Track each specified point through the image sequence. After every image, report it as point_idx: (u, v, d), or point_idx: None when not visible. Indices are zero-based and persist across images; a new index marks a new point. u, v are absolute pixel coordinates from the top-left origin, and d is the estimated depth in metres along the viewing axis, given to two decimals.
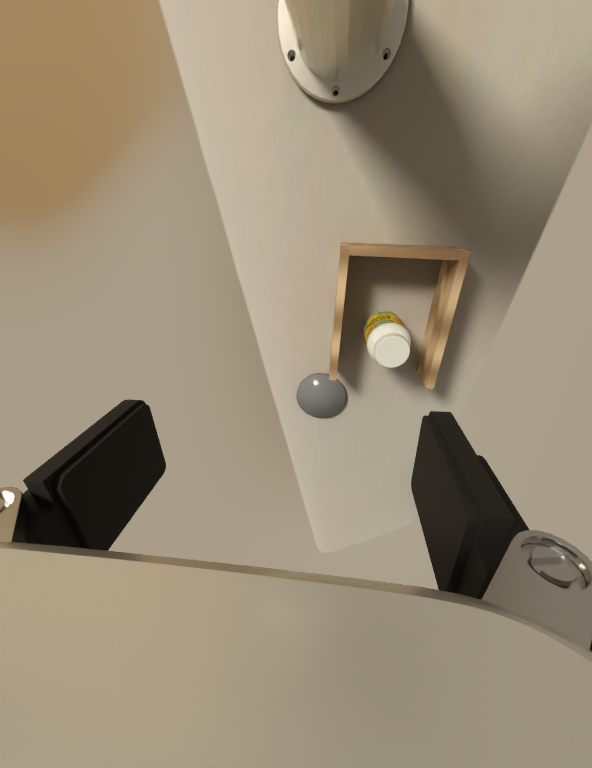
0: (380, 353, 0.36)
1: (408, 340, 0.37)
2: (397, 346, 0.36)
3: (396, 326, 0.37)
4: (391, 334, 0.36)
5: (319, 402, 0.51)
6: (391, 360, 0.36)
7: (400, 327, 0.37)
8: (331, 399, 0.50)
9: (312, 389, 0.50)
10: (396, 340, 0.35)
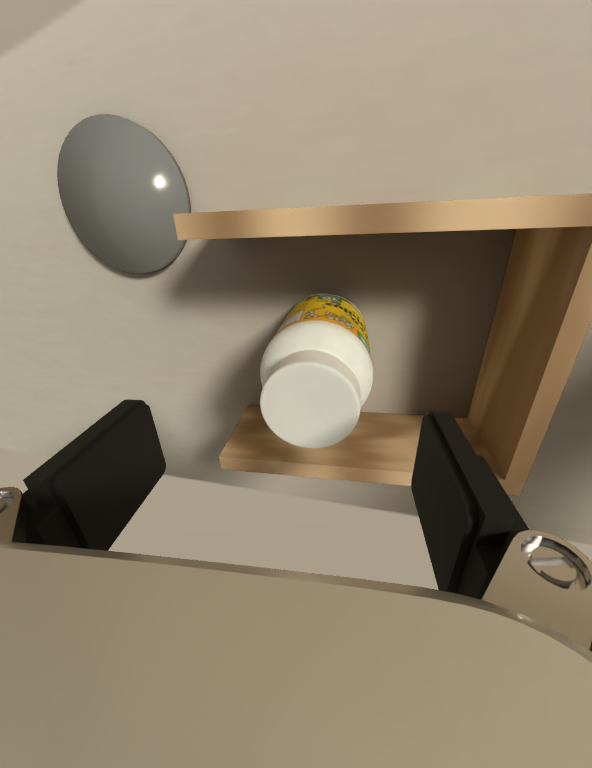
0: (301, 378, 0.11)
1: None
2: (328, 419, 0.12)
3: (368, 391, 0.14)
4: (360, 395, 0.12)
5: (105, 199, 0.18)
6: (283, 409, 0.12)
7: (364, 400, 0.14)
8: (126, 234, 0.19)
9: (134, 170, 0.17)
10: (345, 415, 0.12)
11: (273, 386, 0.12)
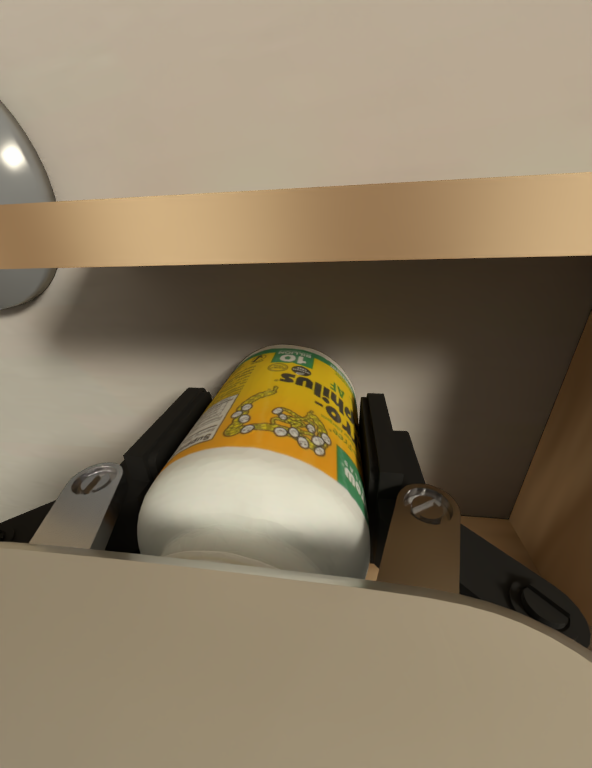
0: None
1: None
2: None
3: None
4: None
5: None
6: None
7: None
8: None
9: None
10: None
11: None
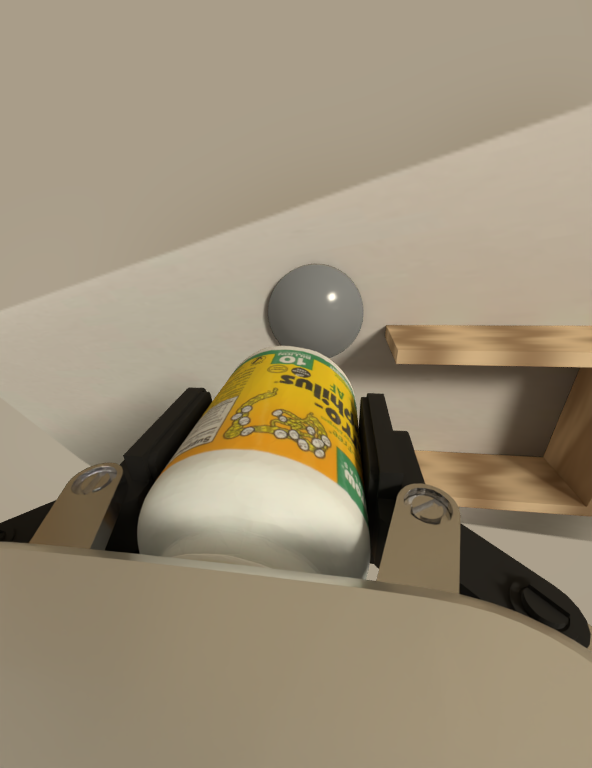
0: None
1: None
2: None
3: None
4: None
5: (302, 313, 0.26)
6: None
7: None
8: (312, 335, 0.27)
9: (330, 297, 0.25)
10: None
11: None
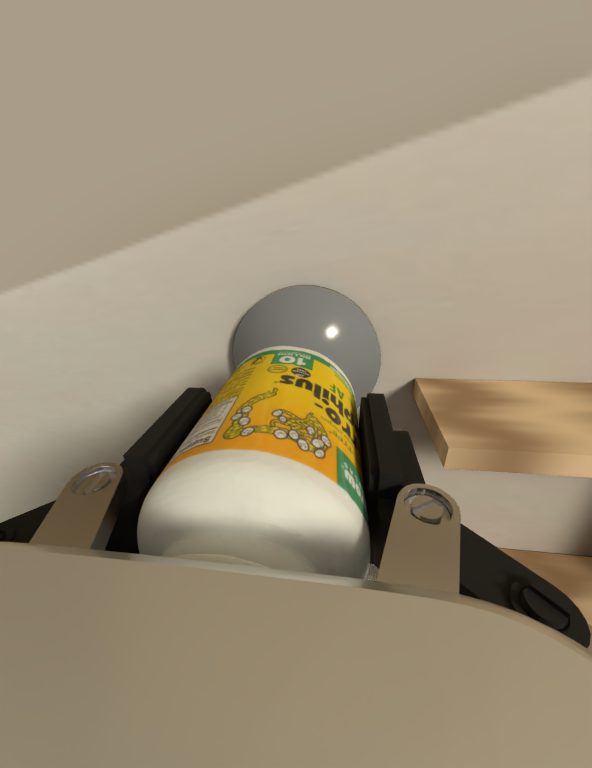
0: None
1: None
2: None
3: None
4: None
5: None
6: None
7: None
8: None
9: (329, 337, 0.16)
10: None
11: None
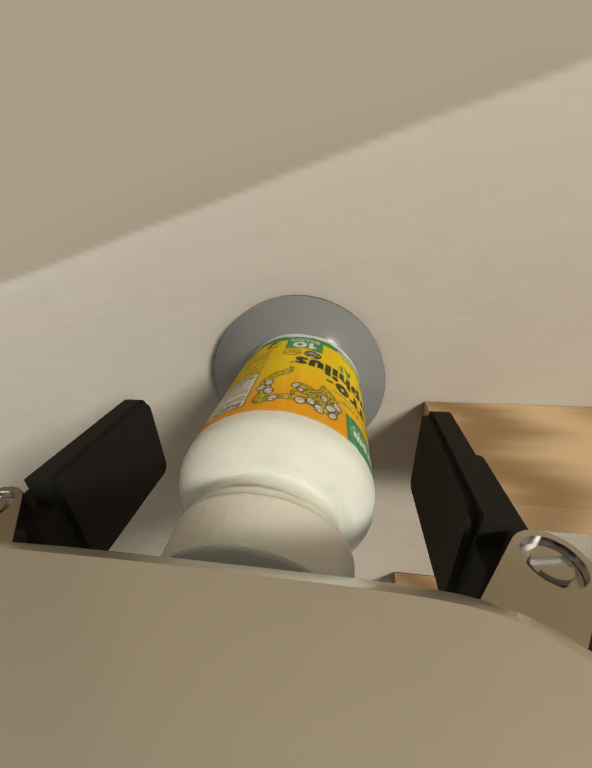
0: None
1: None
2: None
3: (366, 529, 0.08)
4: None
5: None
6: None
7: (360, 540, 0.08)
8: None
9: None
10: None
11: None
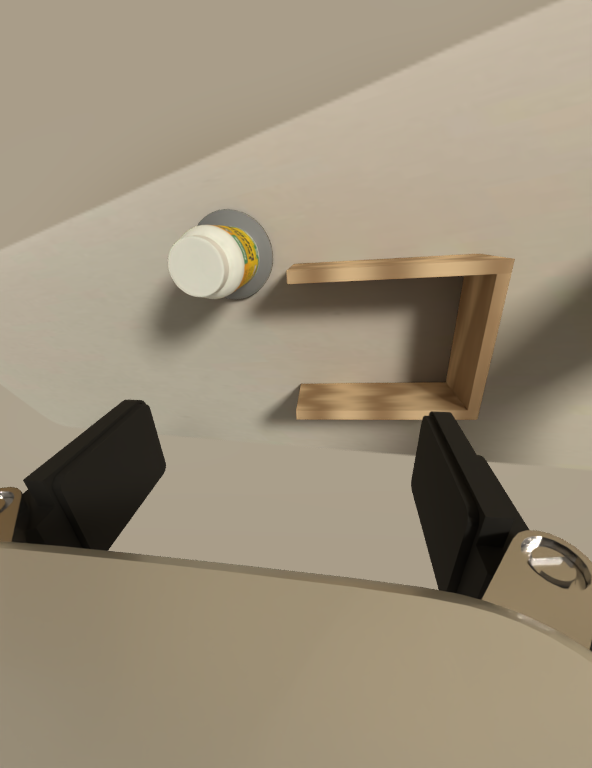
0: (188, 247, 0.21)
1: (222, 292, 0.24)
2: (207, 274, 0.21)
3: (239, 268, 0.23)
4: (225, 259, 0.21)
5: None
6: (181, 270, 0.21)
7: (239, 275, 0.23)
8: None
9: None
10: (216, 270, 0.21)
11: (173, 254, 0.21)
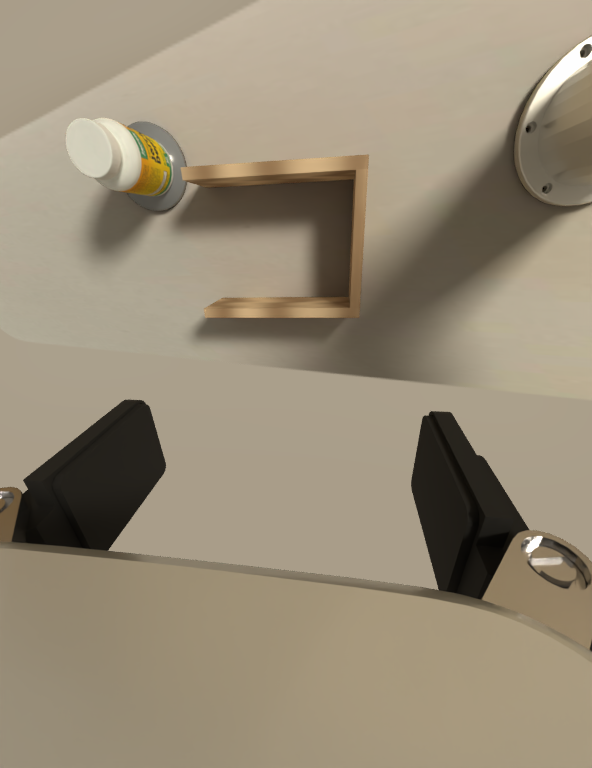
0: (80, 128, 0.24)
1: (122, 182, 0.28)
2: (98, 155, 0.25)
3: (134, 158, 0.27)
4: (114, 143, 0.25)
5: None
6: (77, 151, 0.25)
7: (135, 166, 0.27)
8: None
9: None
10: (105, 150, 0.25)
11: (69, 135, 0.25)
